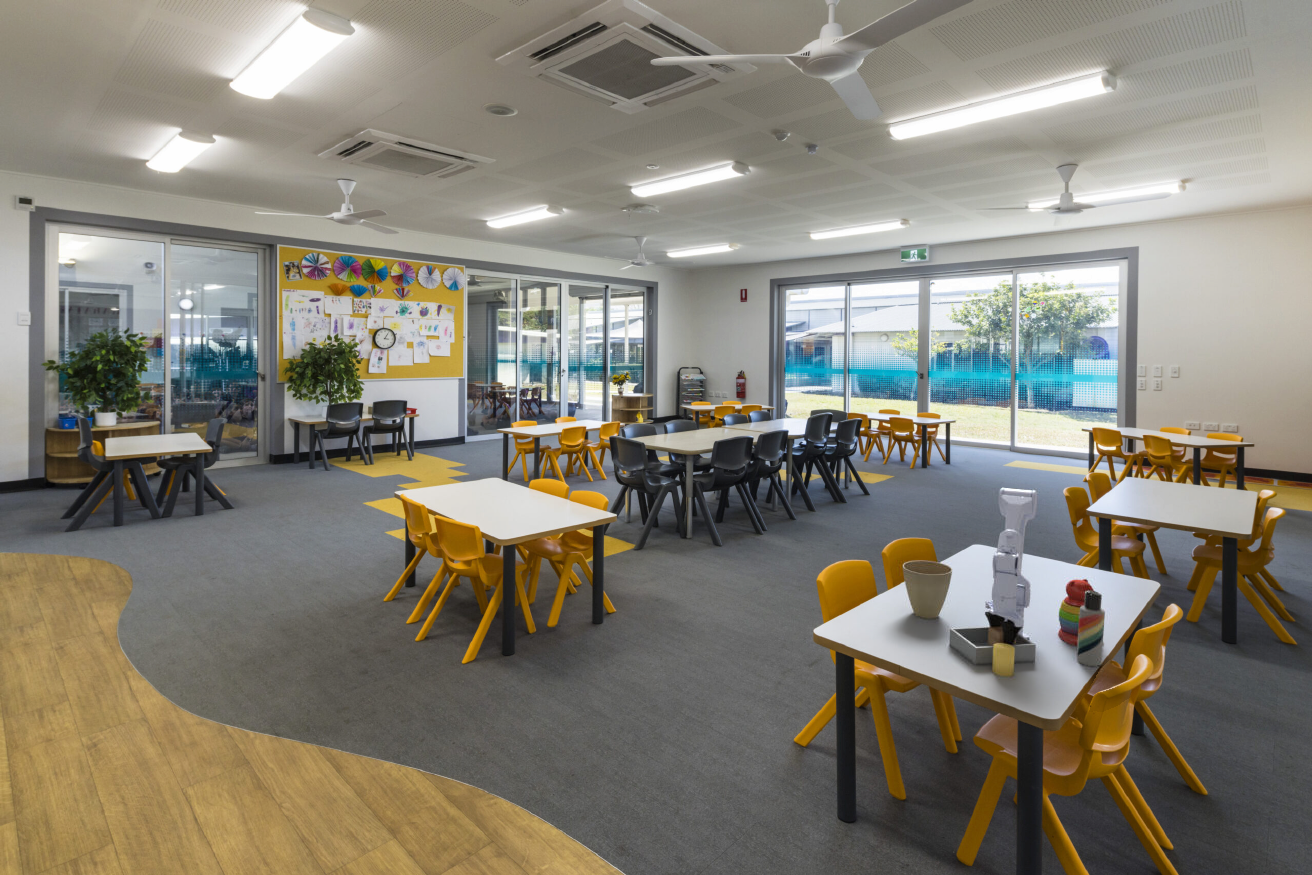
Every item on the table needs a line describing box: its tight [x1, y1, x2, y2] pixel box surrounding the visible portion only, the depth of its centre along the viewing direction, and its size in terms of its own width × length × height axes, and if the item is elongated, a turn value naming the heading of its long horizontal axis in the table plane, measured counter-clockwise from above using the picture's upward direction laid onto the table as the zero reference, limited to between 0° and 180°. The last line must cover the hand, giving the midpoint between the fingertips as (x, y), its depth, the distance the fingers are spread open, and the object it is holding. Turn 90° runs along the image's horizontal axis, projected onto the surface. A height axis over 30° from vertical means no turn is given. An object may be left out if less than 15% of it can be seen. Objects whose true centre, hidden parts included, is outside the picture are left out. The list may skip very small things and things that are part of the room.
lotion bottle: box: [1076, 590, 1106, 667], centre depth 181 cm, size 6×6×20 cm
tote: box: [949, 625, 1037, 666], centre depth 188 cm, size 17×13×5 cm
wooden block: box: [988, 627, 1016, 646], centre depth 188 cm, size 5×5×5 cm
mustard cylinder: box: [991, 643, 1015, 678], centre depth 177 cm, size 5×5×7 cm
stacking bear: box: [1057, 578, 1095, 647], centre depth 197 cm, size 11×10×18 cm
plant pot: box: [902, 560, 953, 620], centre depth 216 cm, size 15×15×16 cm
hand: (1002, 641), depth 188 cm, fingers closed on wooden block, 5 cm apart
